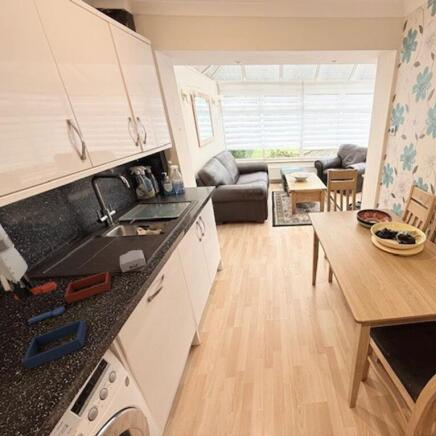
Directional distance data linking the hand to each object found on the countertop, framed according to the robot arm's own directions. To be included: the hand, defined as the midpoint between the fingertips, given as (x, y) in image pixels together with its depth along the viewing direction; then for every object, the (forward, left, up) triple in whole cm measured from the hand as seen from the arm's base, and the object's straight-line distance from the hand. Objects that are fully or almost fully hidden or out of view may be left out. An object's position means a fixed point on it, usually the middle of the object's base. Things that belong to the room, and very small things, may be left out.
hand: (27, 295), depth 76 cm
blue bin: (+6, -15, -13) cm, 21 cm away
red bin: (+11, +12, -13) cm, 21 cm away
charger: (+26, +25, -14) cm, 39 cm away
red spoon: (+2, 0, 0) cm, 2 cm away
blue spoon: (-1, +4, -13) cm, 14 cm away
